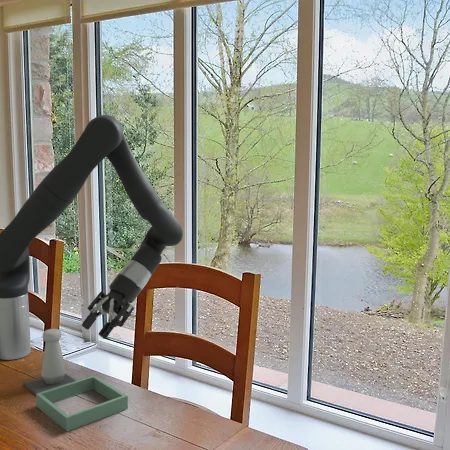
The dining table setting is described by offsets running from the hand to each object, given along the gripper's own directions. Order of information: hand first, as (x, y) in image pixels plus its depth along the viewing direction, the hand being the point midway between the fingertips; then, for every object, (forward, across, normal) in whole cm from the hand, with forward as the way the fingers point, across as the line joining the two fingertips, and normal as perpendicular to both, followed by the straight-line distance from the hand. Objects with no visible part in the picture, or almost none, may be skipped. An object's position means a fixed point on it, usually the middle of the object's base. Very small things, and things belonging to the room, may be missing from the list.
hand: (92, 332), depth 140 cm
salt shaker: (+15, 0, 0) cm, 15 cm away
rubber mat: (+16, 0, 0) cm, 16 cm away
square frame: (+16, +15, -1) cm, 22 cm away
